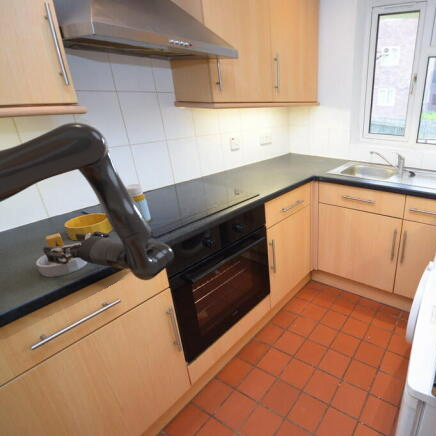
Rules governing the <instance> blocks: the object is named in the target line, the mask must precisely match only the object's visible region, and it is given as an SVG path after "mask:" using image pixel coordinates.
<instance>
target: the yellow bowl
mask: <svg viewBox="0 0 436 436" xmlns="http://www.w3.org/2000/svg"><path fill="white" fill-rule="evenodd" d="M64 227H65V230H66V233H67V236H68V238H69V239H70V240H72V241H78V240H77V239H76V236H75V234H77V233H80V234H93V232H96V231H98V232H102V233H107V234H110V233H111V232H112V231H113V230H114V229H113V227H112V226H111V224H110V222H109V220H108V219H107V217H106V215H105V213H104V212H103V213H99V212H97V213H88V214H83V215H79V216H76V217H73V218H71V219H68V220H67V221H66V222H65V223H64Z"/></svg>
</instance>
